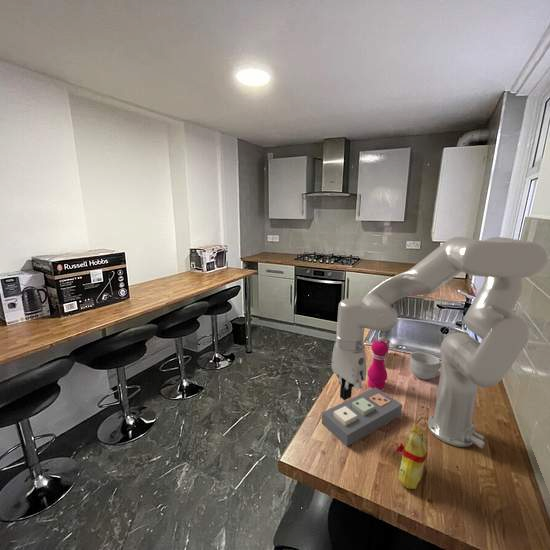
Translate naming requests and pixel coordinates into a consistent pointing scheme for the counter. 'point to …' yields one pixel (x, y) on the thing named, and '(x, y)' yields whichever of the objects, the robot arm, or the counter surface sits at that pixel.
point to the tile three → (379, 400)
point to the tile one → (345, 416)
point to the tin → (387, 343)
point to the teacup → (424, 365)
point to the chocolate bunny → (412, 458)
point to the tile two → (363, 407)
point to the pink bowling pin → (378, 365)
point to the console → (361, 418)
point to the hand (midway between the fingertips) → (345, 397)
